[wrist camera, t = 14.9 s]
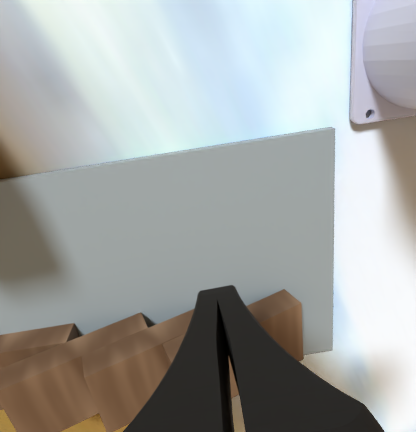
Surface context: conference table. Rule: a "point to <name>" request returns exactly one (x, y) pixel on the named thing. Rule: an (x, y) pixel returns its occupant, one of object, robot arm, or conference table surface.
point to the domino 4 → (271, 321)
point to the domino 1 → (33, 342)
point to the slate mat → (172, 235)
